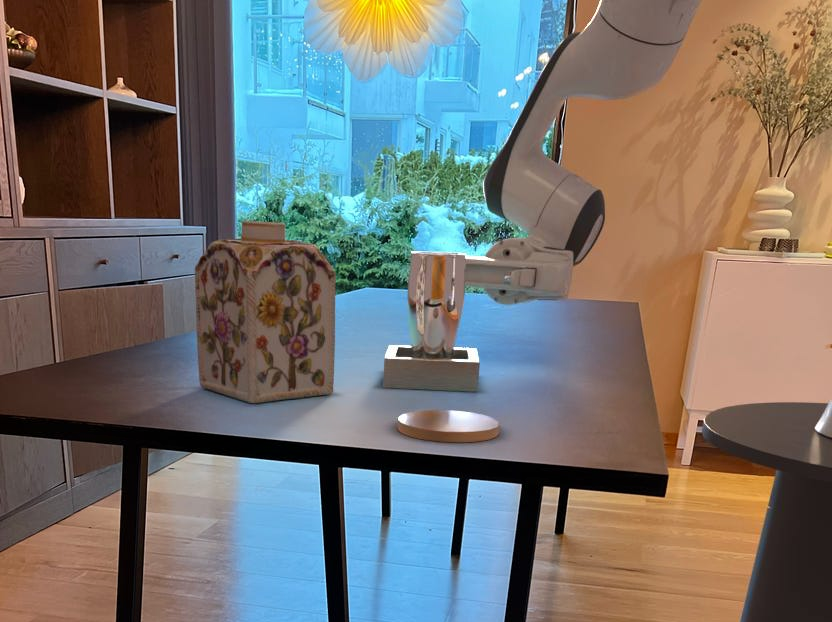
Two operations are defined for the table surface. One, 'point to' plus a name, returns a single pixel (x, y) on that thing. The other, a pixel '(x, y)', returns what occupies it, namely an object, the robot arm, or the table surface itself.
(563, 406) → the table surface
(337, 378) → the table surface
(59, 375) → the table surface
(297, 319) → the decorative jar
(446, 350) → the beer glass
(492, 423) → the disc
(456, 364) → the box
